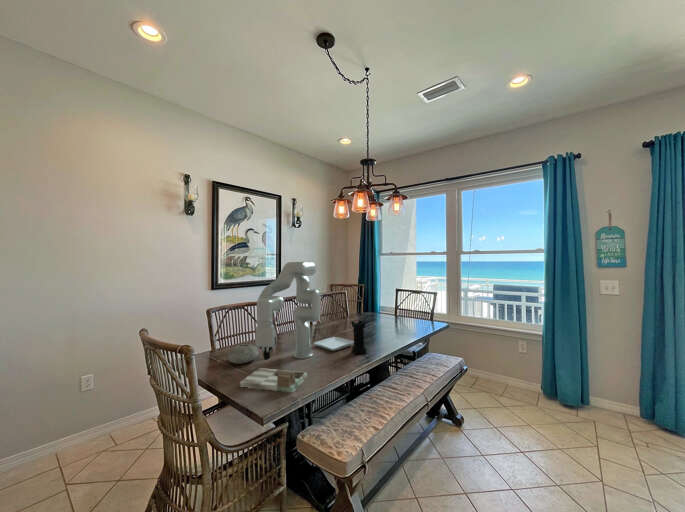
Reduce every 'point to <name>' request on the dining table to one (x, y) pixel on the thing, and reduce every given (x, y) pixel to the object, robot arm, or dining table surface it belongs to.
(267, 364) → the dining table surface
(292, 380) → the walnut block
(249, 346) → the grey stone
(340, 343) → the salad plate
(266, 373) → the trap box
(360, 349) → the chess piece
